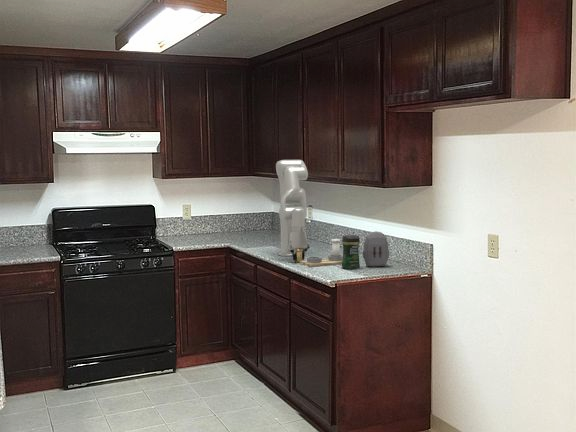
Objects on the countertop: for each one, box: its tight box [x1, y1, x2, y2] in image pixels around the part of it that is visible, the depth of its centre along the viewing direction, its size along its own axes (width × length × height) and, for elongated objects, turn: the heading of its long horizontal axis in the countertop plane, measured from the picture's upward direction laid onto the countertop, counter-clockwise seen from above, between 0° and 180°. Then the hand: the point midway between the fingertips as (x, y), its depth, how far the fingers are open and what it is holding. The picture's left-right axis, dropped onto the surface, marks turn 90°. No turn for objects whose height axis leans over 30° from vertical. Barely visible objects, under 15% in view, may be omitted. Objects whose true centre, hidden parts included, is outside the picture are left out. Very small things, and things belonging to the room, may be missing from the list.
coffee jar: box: [341, 234, 361, 270], centre depth 359 cm, size 10×8×19 cm
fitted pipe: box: [327, 238, 343, 261], centre depth 378 cm, size 8×8×12 cm
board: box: [299, 258, 342, 268], centre depth 376 cm, size 14×24×2 cm, turn 113°
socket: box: [306, 256, 323, 263], centre depth 373 cm, size 8×8×2 cm
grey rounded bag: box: [362, 231, 390, 268], centre depth 363 cm, size 15×8×20 cm, turn 92°
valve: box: [294, 248, 303, 264], centre depth 381 cm, size 6×5×9 cm
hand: (298, 259), depth 381 cm, fingers closed on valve, 4 cm apart
